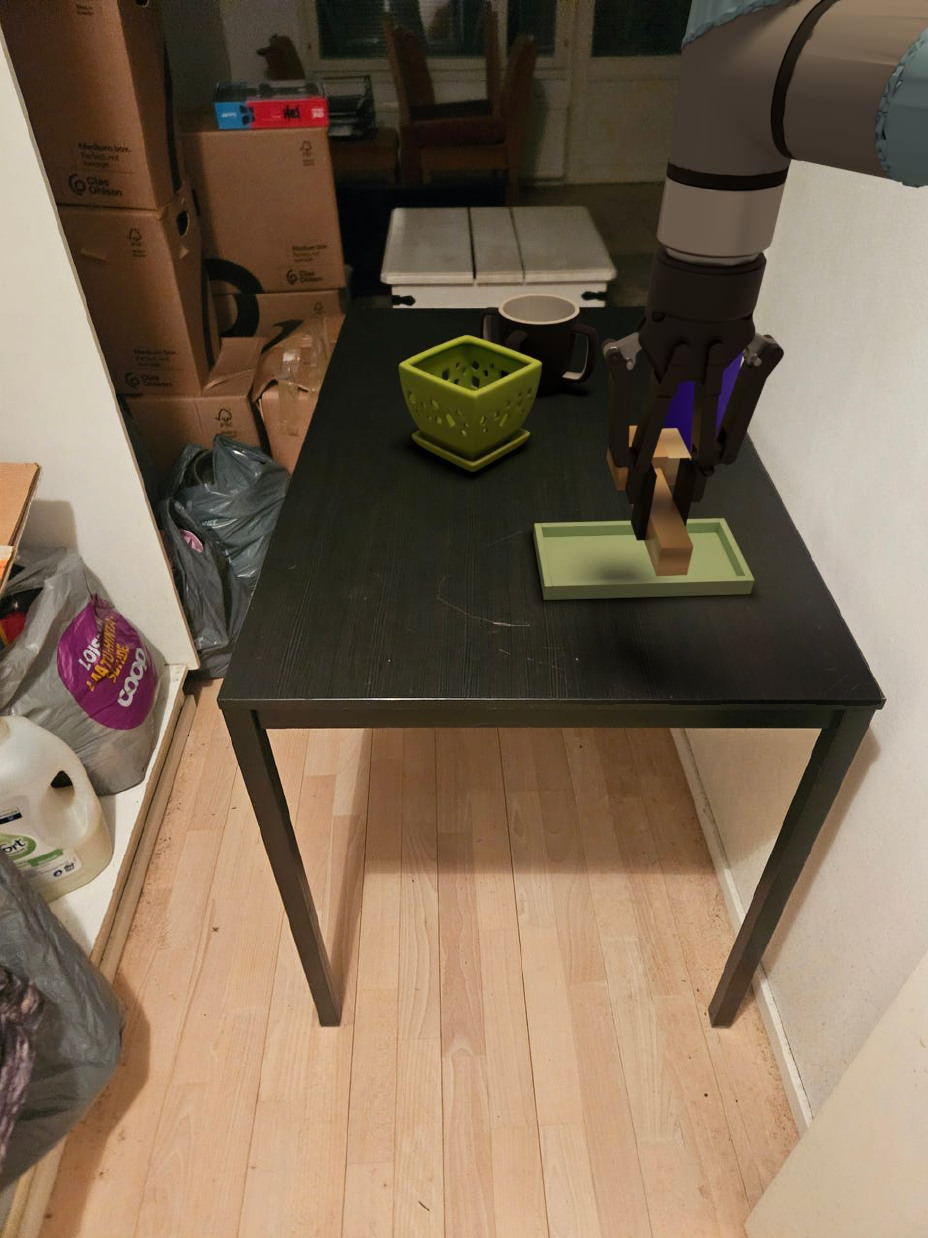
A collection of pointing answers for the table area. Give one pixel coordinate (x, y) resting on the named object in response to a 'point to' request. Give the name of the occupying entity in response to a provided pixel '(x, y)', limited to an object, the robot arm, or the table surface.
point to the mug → (543, 335)
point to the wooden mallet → (663, 506)
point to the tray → (634, 562)
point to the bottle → (684, 400)
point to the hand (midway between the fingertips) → (656, 530)
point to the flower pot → (470, 400)
